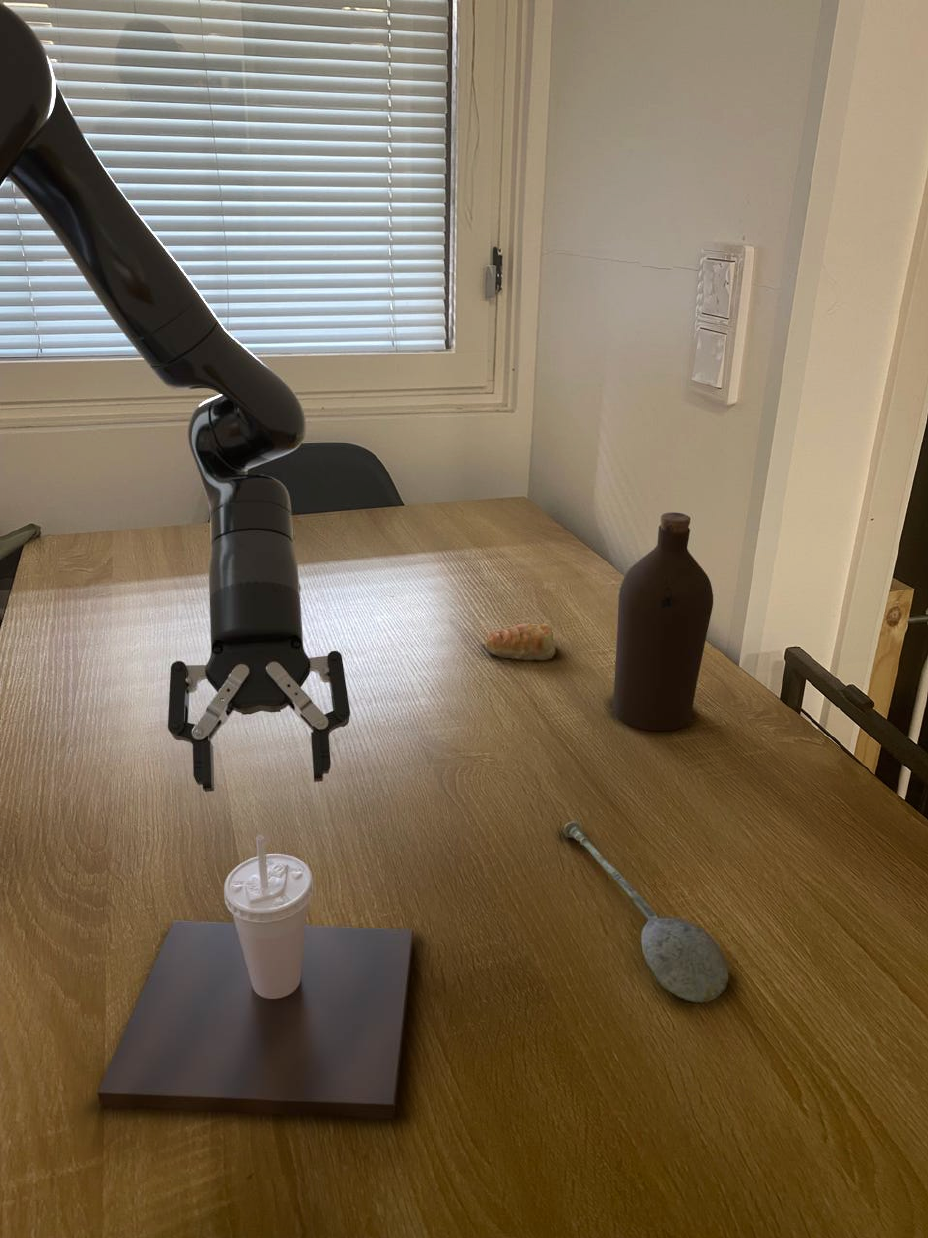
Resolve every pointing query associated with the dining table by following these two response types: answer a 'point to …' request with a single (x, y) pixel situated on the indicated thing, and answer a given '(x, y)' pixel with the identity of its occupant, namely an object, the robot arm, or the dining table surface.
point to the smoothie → (271, 918)
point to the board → (267, 1028)
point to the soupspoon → (671, 943)
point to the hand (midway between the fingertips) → (264, 785)
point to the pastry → (523, 642)
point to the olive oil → (661, 632)
